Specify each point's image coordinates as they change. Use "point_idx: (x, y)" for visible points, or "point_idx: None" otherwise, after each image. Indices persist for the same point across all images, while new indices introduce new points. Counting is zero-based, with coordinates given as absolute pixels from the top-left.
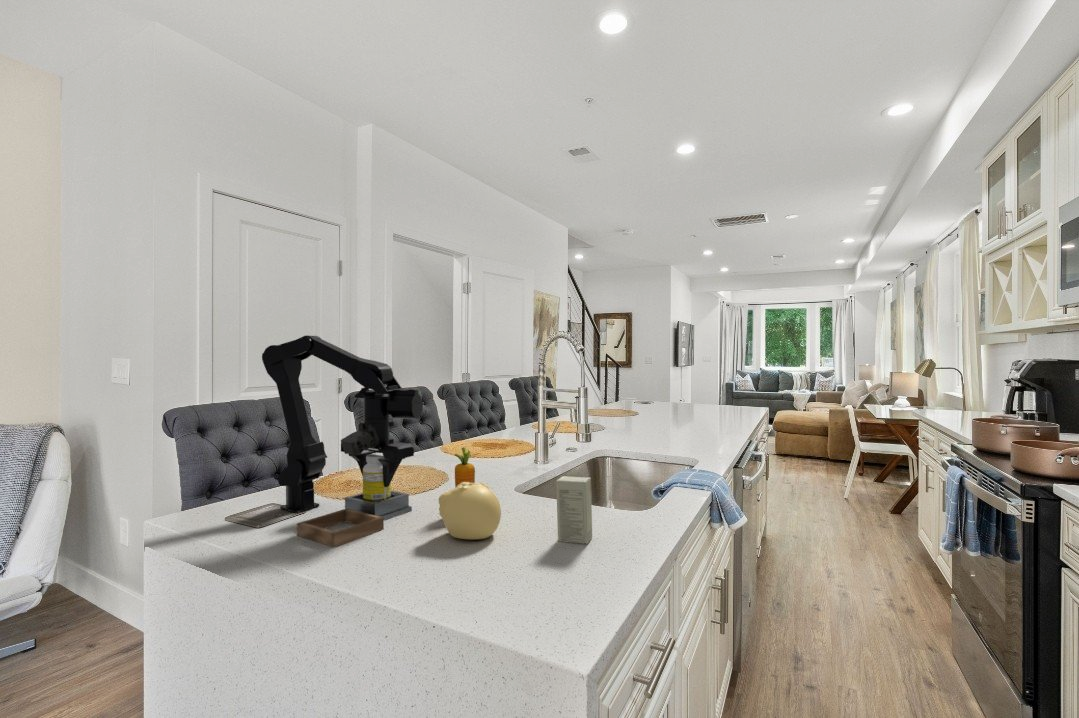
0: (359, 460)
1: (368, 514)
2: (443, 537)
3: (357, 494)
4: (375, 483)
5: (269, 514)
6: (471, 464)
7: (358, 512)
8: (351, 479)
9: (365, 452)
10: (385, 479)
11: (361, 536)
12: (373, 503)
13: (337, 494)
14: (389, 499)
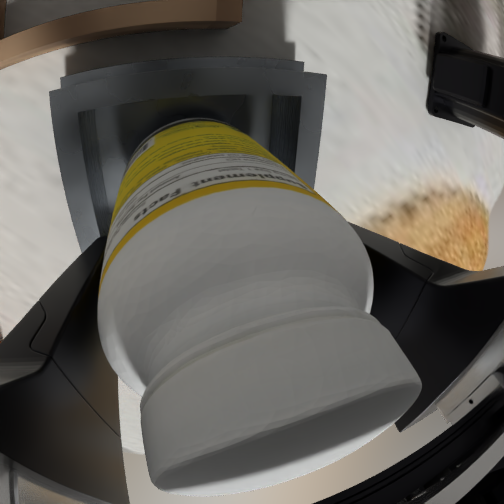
0: (454, 282)
1: (44, 38)
2: None
3: (314, 152)
4: (127, 190)
5: (468, 11)
6: None
7: (117, 15)
8: None
9: (458, 384)
10: (68, 267)
11: None
12: (70, 94)
13: (438, 220)
14: (72, 203)
